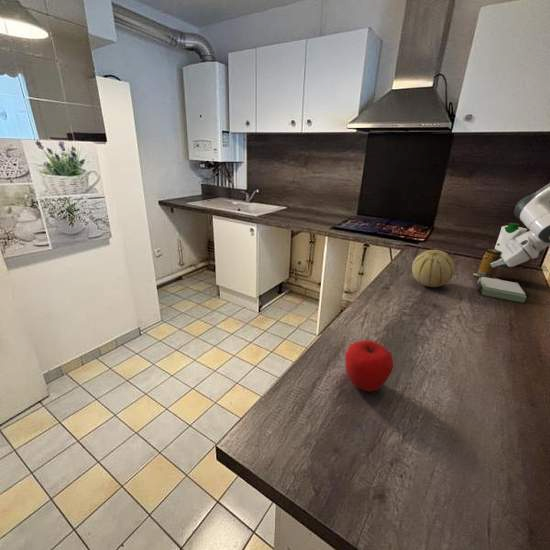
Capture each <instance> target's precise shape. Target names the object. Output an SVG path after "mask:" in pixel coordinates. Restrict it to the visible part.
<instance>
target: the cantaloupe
mask: <svg viewBox="0 0 550 550" xmlns="http://www.w3.org/2000/svg"><path fill="white" fill-rule="evenodd" d="M411 265H412V266H411V272H412V275H413V277H414V279H415V280H416V281H417V282H418V283H419V284H421V285H422V286H425V287H427V288H428V287H429V288H438V287H442V286H444V285H446V284H448V283H449V282H450V281H451V280H452V279H453V277H454V275H455V271H456V265H455V262H454V259H452V257H451V255H449V254H448V253H447V252H445V251H443V250H440V249H428V250H424V251H423V252H421V253H419V254H418V255H417V256H416V257H415V259H414V260H413V262H412V264H411Z"/></svg>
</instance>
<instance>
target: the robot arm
mask: <svg viewBox="0 0 550 550" xmlns="http://www.w3.org/2000/svg"><path fill="white" fill-rule="evenodd" d="M513 215H514V216H515V217H516V218H517V219H519V221H520V222H522V223H523V225H525V226H526V229H527V231H526V233H524V234H522V235H520V236H518V237H516V238H515V240H510V241H508V242H505V243H503V244H501V245H499V246H497V247H496V250H499V251H501V252H502V253H501V254H500V257H502V258H501V259H499V260H498V261H495V262H492V263H490V265H491V266H492V267H496V266H498V267H499V266H503V264H505V263H506V264H507V266H506V267H508V268H514V267H516V266H518V265H521V264H524V263H525V262H527V261H530V260H534V259H536V258H538V257H539V254H540V252H541V251H543V250H545V249H547V248H548V247H550V182H549V183H548V184H546V185H544V186H543V187H541V188H540V189H538V190H536V191H535V192H533V193H530V194H529V195H527V196H525V197H523V198H522V199H520V200H519V201H518V202H517V203H516V205H515V206H514V211H513Z"/></svg>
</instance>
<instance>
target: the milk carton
mask: <svg viewBox="0 0 550 550" xmlns="http://www.w3.org/2000/svg"><path fill="white" fill-rule="evenodd" d="M526 232H528V228H527V227H526V228H525V227H521V226H520V223H516V222H509V223H508V224H507V225H502V226H501V229H500V232H499V235H498V237H497V240H496V244H495V246H494V248H493V249H494V250H496V247H497V246H499V245H501V244H503V243H505V242H508V241H510V240H515V238H516V237H518V236H520V235H522V234H524V233H526ZM501 258H502V257H500V259H501ZM503 266H504V267H508V266H507V264H506V263H505V264H503V265H502V267H503Z"/></svg>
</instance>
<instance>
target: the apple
mask: <svg viewBox="0 0 550 550" xmlns="http://www.w3.org/2000/svg"><path fill="white" fill-rule="evenodd" d="M344 355H345V357H344V360H345V371H346V374H347V377H348V379H349V381H350V382H351V384H352V385H354V386H355V387H356V388H358V389H359V390H362V391H364V392H365V391H366V392H369V393H370V392H376V391H378V390H380V389H381V388H382V386H383V385H384V384H385V383H386V382H387V381H388V379H389V377H390V375H391V374H392V371H393V369H394V360H393V355H392V354H391V352H389V351H388V350H387V349H386V348H385V347H384V346H383V345H382V344H380V343H378V342H376V341H374V340H370V339H369V340H367V339H366V340H358V341H356V342H353V343H351V344H350V345H349V347H348V349H347V350H346V352H345V354H344Z"/></svg>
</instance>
